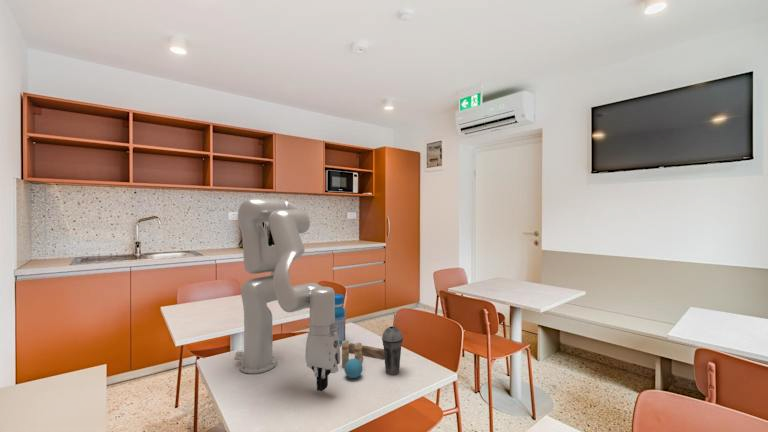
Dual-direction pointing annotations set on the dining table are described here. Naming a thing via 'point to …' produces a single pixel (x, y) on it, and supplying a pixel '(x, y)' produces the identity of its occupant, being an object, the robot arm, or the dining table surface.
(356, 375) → the ball
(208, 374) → the dining table surface
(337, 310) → the beverage bottle
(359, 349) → the pin
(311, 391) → the dining table surface
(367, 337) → the dining table surface
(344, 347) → the pin
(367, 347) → the back rail
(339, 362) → the robot arm
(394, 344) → the beverage cup
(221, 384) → the dining table surface
